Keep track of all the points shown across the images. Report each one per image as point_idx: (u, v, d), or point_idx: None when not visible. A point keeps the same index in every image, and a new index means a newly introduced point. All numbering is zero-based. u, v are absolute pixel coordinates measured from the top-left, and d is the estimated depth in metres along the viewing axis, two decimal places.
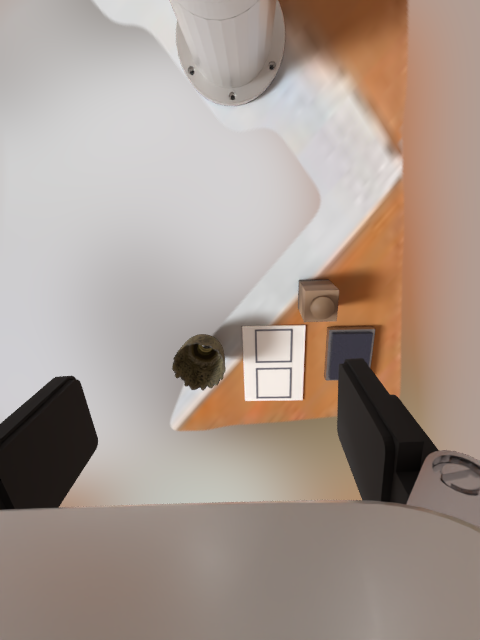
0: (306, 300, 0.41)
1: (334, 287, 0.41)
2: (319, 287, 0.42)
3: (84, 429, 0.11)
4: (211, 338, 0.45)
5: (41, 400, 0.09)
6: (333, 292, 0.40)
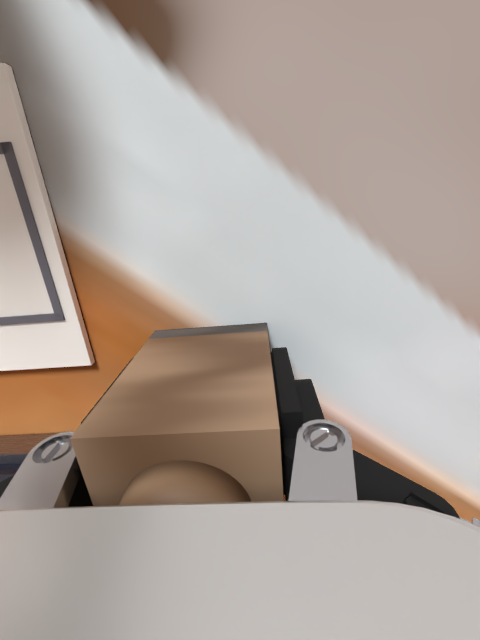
0: (215, 439, 0.06)
1: None
2: None
3: None
4: None
5: None
6: None
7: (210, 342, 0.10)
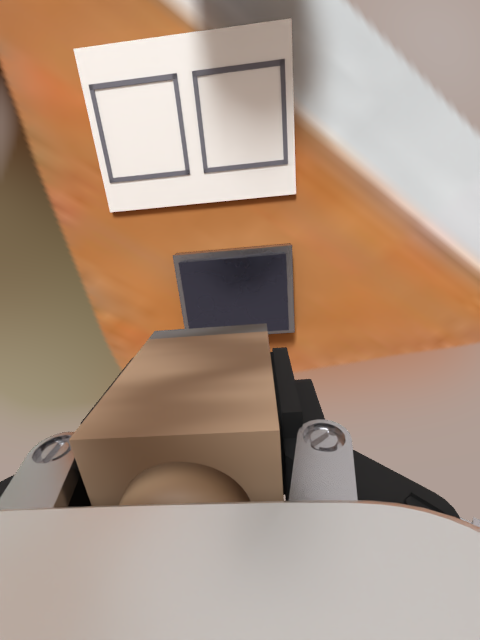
0: (215, 440, 0.06)
1: None
2: None
3: None
4: None
5: None
6: None
7: (210, 343, 0.10)
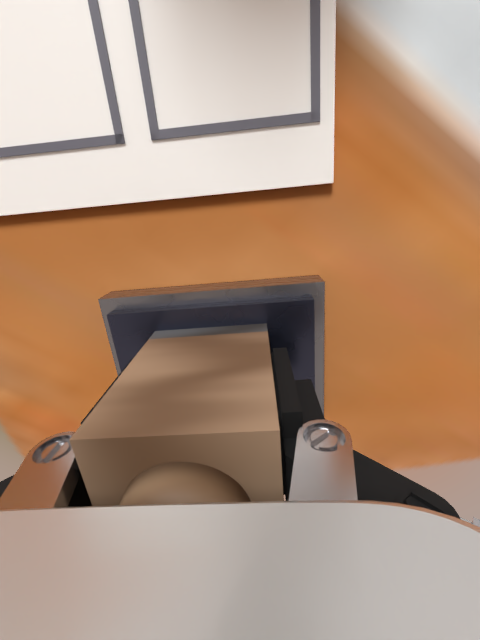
0: (215, 440, 0.06)
1: None
2: None
3: None
4: None
5: None
6: None
7: (210, 343, 0.10)
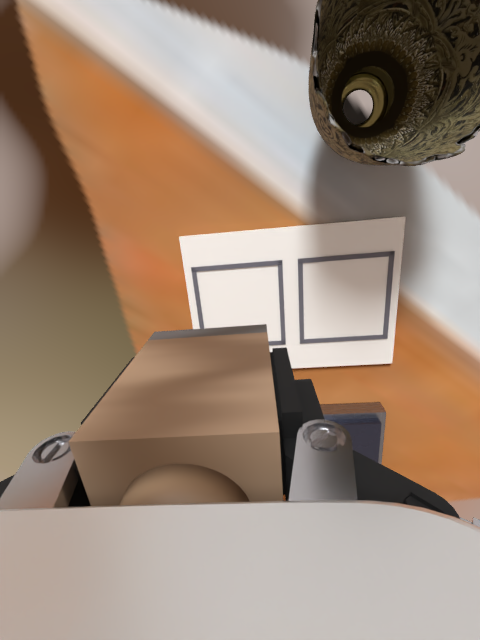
0: (215, 442, 0.06)
1: None
2: None
3: None
4: None
5: None
6: None
7: (210, 344, 0.10)
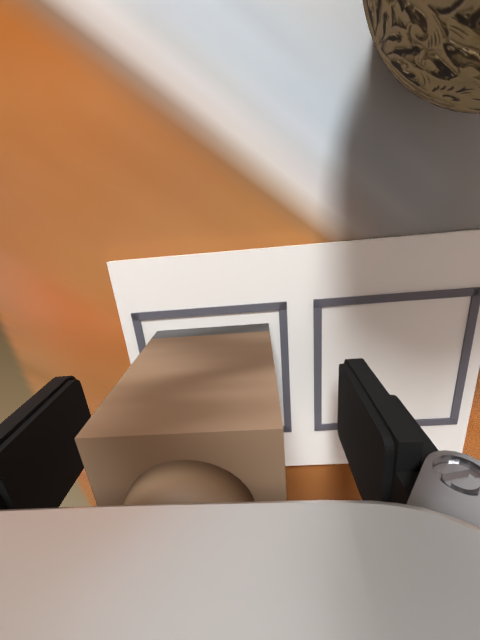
0: (219, 439, 0.06)
1: None
2: None
3: None
4: None
5: (41, 400, 0.09)
6: None
7: (212, 342, 0.10)
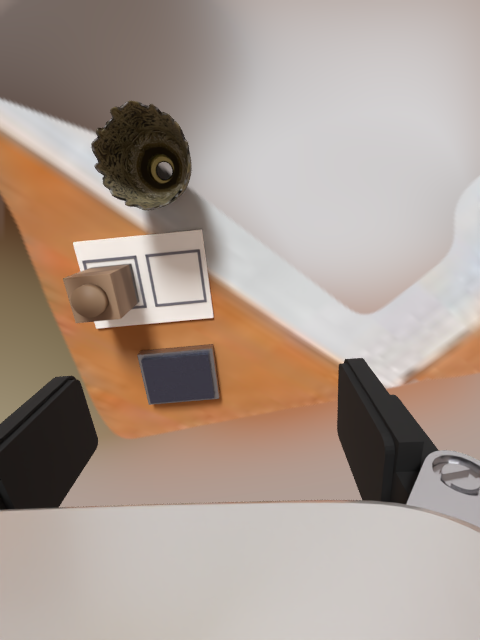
0: (96, 277, 0.28)
1: (124, 312, 0.31)
2: (121, 292, 0.30)
3: (84, 429, 0.11)
4: (188, 181, 0.27)
5: (41, 400, 0.09)
6: (115, 312, 0.29)
7: (108, 267, 0.32)
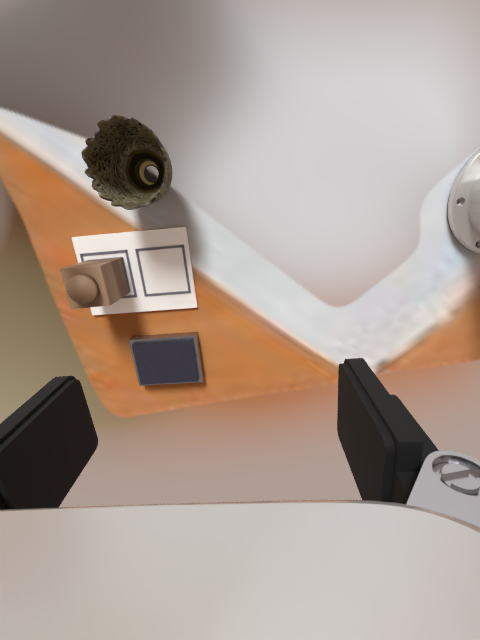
0: (88, 268, 0.32)
1: (114, 299, 0.34)
2: (111, 282, 0.34)
3: (84, 429, 0.11)
4: (169, 183, 0.31)
5: (42, 400, 0.09)
6: (105, 299, 0.33)
7: (101, 260, 0.36)
